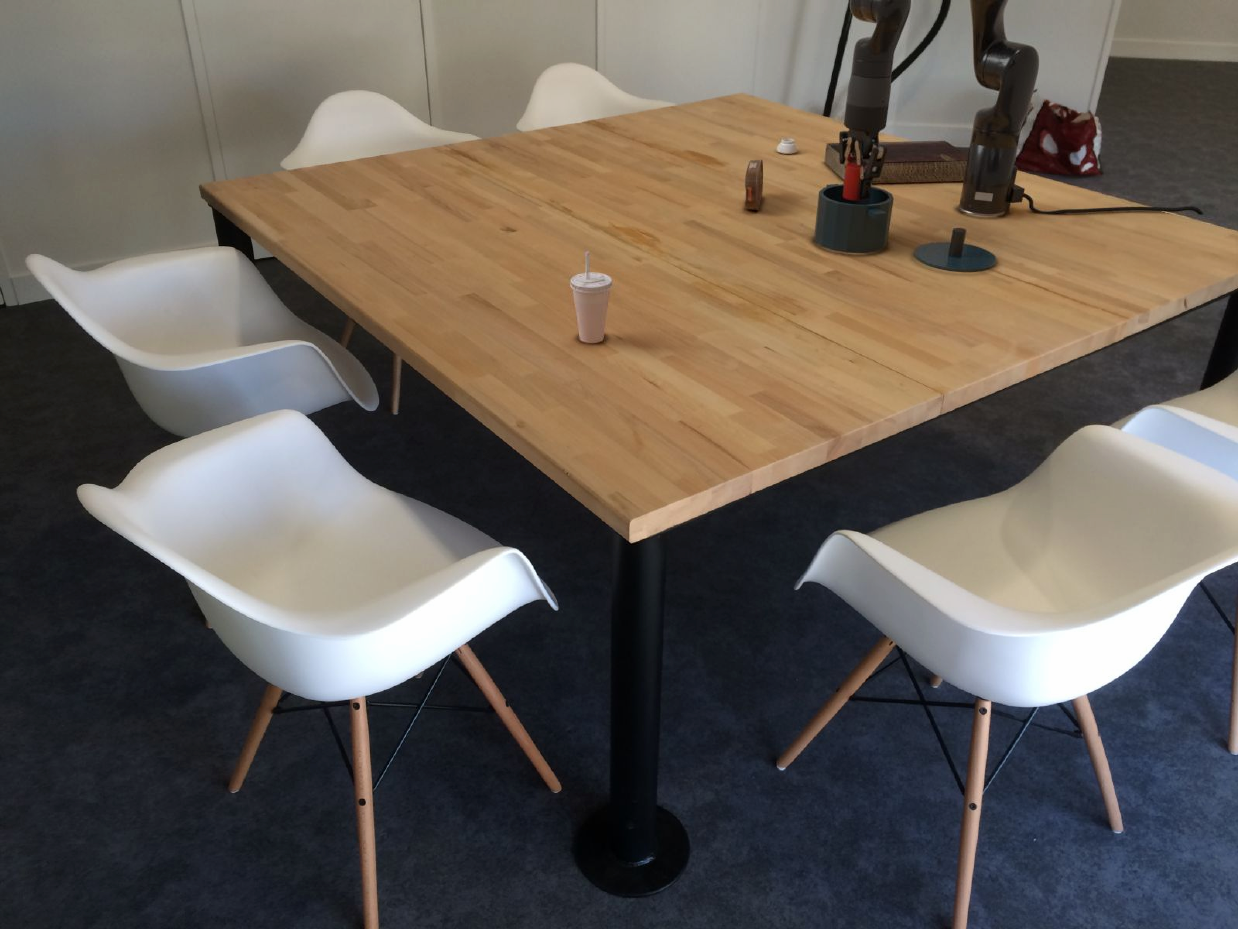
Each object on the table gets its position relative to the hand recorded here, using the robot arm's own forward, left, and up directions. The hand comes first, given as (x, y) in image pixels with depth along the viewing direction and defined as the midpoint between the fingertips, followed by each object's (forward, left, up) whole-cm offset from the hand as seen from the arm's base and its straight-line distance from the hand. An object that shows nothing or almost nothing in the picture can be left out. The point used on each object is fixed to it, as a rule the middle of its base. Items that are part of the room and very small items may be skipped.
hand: (856, 193), depth 199 cm
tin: (+8, -28, -10) cm, 31 cm away
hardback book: (-34, -41, -10) cm, 54 cm away
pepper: (0, 0, -1) cm, 1 cm away
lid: (-14, +14, -9) cm, 22 cm away
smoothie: (+60, +28, -10) cm, 67 cm away
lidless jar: (-17, -64, -10) cm, 67 cm away
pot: (0, 0, -10) cm, 10 cm away
